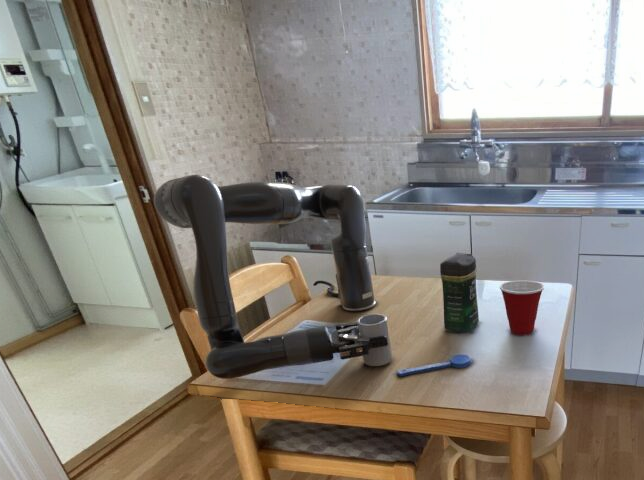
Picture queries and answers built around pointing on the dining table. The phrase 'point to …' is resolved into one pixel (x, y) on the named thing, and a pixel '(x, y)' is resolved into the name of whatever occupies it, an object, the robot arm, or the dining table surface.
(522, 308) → the plastic cup
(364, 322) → the gray cup
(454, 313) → the coffee jar
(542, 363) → the dining table surface
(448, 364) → the spoon
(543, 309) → the dining table surface
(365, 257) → the robot arm
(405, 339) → the dining table surface
